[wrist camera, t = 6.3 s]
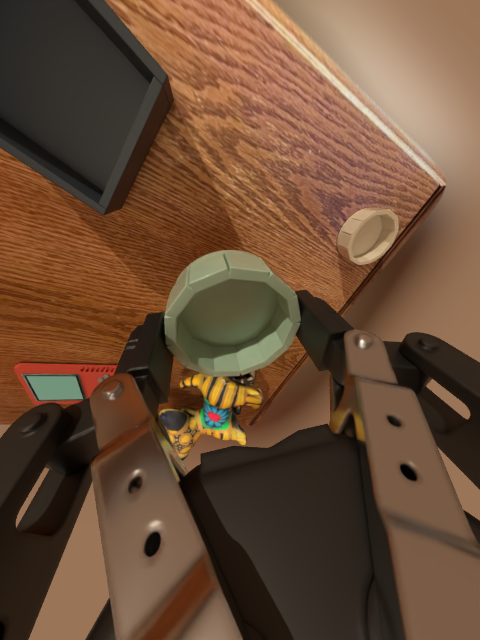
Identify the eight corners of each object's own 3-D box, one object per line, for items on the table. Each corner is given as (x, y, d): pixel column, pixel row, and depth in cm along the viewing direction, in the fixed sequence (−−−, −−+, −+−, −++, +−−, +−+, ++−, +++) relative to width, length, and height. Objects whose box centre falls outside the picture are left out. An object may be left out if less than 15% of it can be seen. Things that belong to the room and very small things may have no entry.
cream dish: (362, 197, 23) (377, 199, 21) (392, 221, 25) (408, 225, 23) (327, 247, 26) (338, 253, 24) (357, 265, 28) (369, 271, 26)
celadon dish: (218, 219, 8) (224, 232, 6) (302, 294, 12) (324, 318, 10) (148, 318, 11) (137, 351, 9) (235, 358, 14) (242, 388, 12)
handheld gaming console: (135, 403, 36) (33, 406, 31) (137, 397, 36) (38, 399, 32) (133, 370, 31) (11, 368, 26) (135, 365, 32) (17, 362, 27)
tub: (4, -93, 10) (-98, -237, 7) (174, 99, 16) (167, 75, 12) (-26, 106, 14) (-103, 80, 10) (120, 208, 19) (103, 215, 16)
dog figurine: (247, 344, 40) (155, 356, 35) (272, 385, 29) (144, 412, 24) (244, 412, 48) (169, 430, 43) (263, 464, 37) (166, 496, 32)
